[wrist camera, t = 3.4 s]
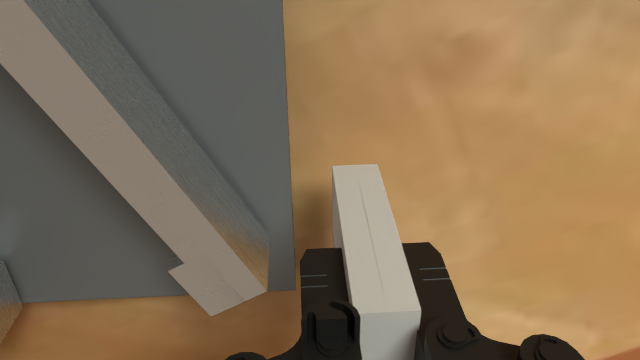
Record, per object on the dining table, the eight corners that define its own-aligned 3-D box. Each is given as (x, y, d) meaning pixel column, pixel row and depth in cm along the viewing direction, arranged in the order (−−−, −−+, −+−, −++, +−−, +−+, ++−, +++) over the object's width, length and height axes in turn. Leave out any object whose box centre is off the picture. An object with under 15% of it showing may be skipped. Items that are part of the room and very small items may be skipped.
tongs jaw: (-117, -130, 13) (-214, -129, 11) (-53, -182, 13) (-138, -193, 10) (220, 259, 20) (211, 317, 18) (269, 236, 20) (266, 291, 17)
